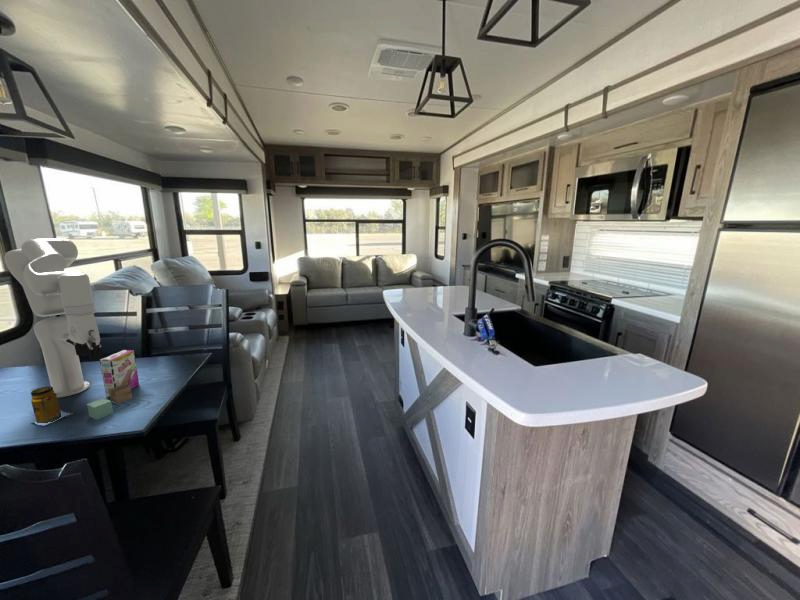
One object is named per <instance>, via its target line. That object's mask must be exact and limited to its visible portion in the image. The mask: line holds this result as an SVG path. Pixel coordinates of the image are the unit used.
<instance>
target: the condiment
mask: <svg viewBox="0 0 800 600" xmlns="http://www.w3.org/2000/svg"><path fill="white" fill-rule="evenodd" d="M30 395H31V400H30V403H31V406H32V410H33V414H34V418H35V421H37V423H48V422H53V421H55V420H57V419H59V418H60V417H61V412H60V411H61V409H60V404H59V401H58V398H57V396H56V394H55V393H54V390H53V387H51V385H50V386H49V385H48V386H42V387H38V388H35V389H33V390H31V392H30ZM70 413H71V414H69V415H67V416H65V418H67V417H70V416H71V415H73V414H74V412H70ZM62 419H64V418H62ZM62 419H61V420H62Z"/></svg>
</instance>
